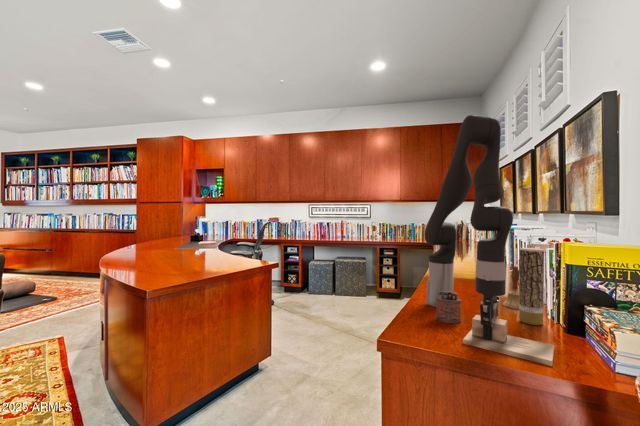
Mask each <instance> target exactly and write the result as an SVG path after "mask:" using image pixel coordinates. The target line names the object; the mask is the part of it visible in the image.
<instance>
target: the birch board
mask: <svg viewBox="0 0 640 426" xmlns="http://www.w3.org/2000/svg"><path fill="white" fill-rule="evenodd" d="M462 344H463V345H467V346H473V347H477V348H479V349H484V350H488V351H491V352H496V353H500V354H503V355H508V356H510V357H515V358H518V359H523V360H527V361H531V362H535V363H539V364H543V365H545V366H550V367H553V361H554V356H555V355H554V354H555V345H554V344H550V343H546V342H541V341H537V340H531V339H527V338H522V337H519V336H513V335H509V334H507V340H506V342H505V344H503V343H499V342H494V341H490V340H486V339H481V338H477V337H473V336H472V329H471V330H470V331H469V332H468V333H467V334H466V335H465V337H463V339H462Z"/></svg>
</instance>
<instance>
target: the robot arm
mask: <svg viewBox="0 0 640 426" xmlns="http://www.w3.org/2000/svg"><path fill="white" fill-rule="evenodd" d="M501 132H502V130H501V123H500V121H499V119H497V118H495V117H493V116H483V115H475V114H470V115H467V116H466V117H465V118H464V119H463V121H462V123H461V126H460V128H459V132H458V135H457V139H456V143H455V146H454V151H453V154H452V158H451V161H450V163H449V167H448V168H447V171H446V174H445V177H444V179H443V183H442V186H441V188H440V191H439V196H438V198H437V202H436V204H435V207H433V208H434V209H433V211H432V213H431V215H430V217H429V219H428V220H427V221H428V222H427V224H426V227H425V229H424V240H425V242H426V244H428V245H431V246H440V248H439V249H438V250H437V251H434V252H432V253H430V254H429V255H428V279H427V281H426V305H428V306H431V307H433V308H436V297H442V295H438V291H446V292H448V291H451V292H452V293H454V266H455V265H454V259H455V256H456V245H457V229H456V226H455V225H454V224H453V223H452V222H449V221H448V222H447V221H446V219H448V217H449V216H450V215H451V214H452V213H453V212H454V211H455V210H456V209H458V207H460V206H462V204H463V203H464V202H465V201H466V200H467V197H468V195H469V192H470V190H471V187H472V186H473V188H474V202H473V208H472V211H471V216H470V221H469V222H470V225H471V227H472V228H473V229H474V230H475V231H478V232H496V233H495V234H494V236H492V237H490V238H483V239H480V240H478V241H477V244H476V264H475V292H477V294H482V295H483V298H482V299H480V305H479V309H480V310H479V311H480V314H479V315H480V316H481V322H480V323H481V325H483V338H484V339H487V340H492V326H493V319H494V318H496V319H498V317H499V312H500V311H499V304H500V297H502V296H505V295H506V293H507V292H506V290H507V289H506V287H507V286H506V285H507V280H506V279H507V275H506V273H507V271H506V245H507V241H508V237H509V234H510V231H511V229H512V226H513V224H514V223H513V222H514V214H513V212H512V210H511V209H510V208H508V206H507V207H506V206H486V205H488V204H493V203H496V202H498V201H500V200H501V198H502V195H503V193H502V192H503V191H502V183H501V177H500V153H501V137H502V136H501ZM471 145H472V146H478V147H479V146H481V147H484V149H485V154H484V156H483V159H482V160H481V162H480V163H479V164H478V166H477V167H476V168H475V172H474V174H473V176H472V173H471V170H470V167H469V164H468V157H467V156H468V151H469V147H470V146H471ZM444 296H445V295H444ZM445 297H446V296H445ZM485 318H488V319H489V321H485Z"/></svg>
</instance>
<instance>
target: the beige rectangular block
mask: <svg viewBox="0 0 640 426" xmlns="http://www.w3.org/2000/svg"><path fill="white" fill-rule="evenodd" d="M471 321H472V322H471V325H472V326H471V330H472V336H473V337H477V338H481V339H484V338H483V325H481V323H480V322H481V316H480V314H475V315H474V317H472V319H471ZM485 321H489V319H488V318H485ZM507 335H508V320H505V319H501V318H497V319H496V318H494V319H493V326H492V340H490V341H494V342H499V343H503V344H505V342H506V340H507ZM486 340H487V339H486Z"/></svg>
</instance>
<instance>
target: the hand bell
mask: <svg viewBox="0 0 640 426" xmlns="http://www.w3.org/2000/svg"><path fill="white" fill-rule="evenodd" d="M519 273H520V270H519V268H518V266H513V268H512V270H511V280H512V289H511V291H510V290H509V291H508V293H507V298H506V300H505V301H504V302H503V303H502V306H504V307H505V308H510V309H513V310H514V309H515V310H519V291H518V290H519V289H518V288H519V287H518V281H519Z"/></svg>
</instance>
